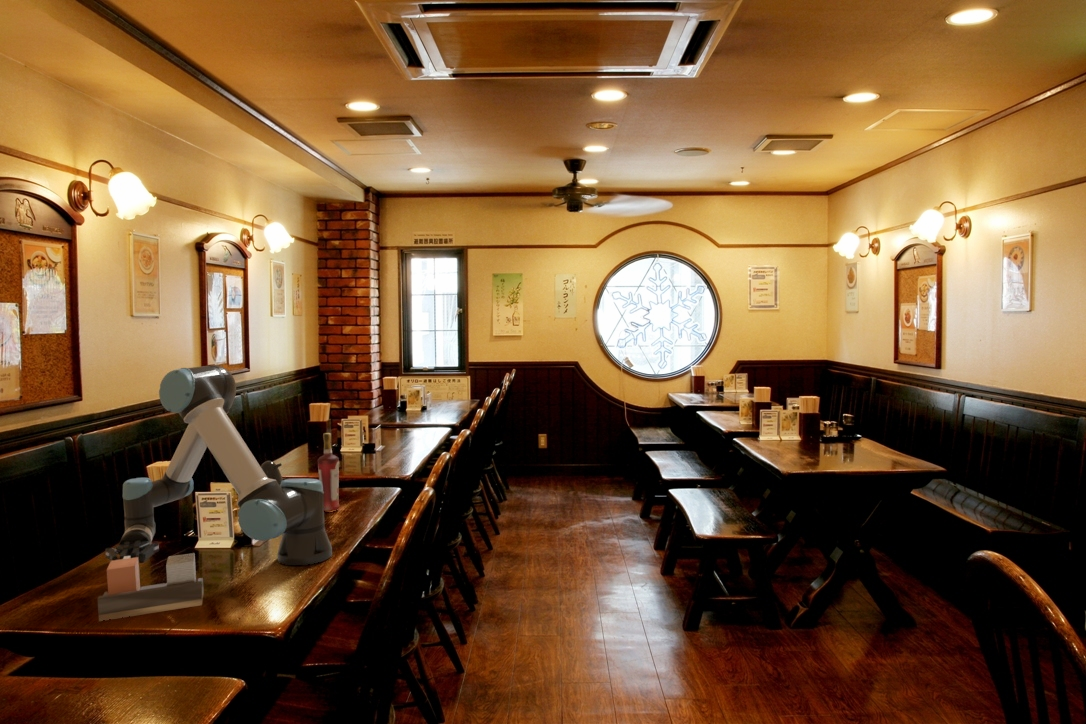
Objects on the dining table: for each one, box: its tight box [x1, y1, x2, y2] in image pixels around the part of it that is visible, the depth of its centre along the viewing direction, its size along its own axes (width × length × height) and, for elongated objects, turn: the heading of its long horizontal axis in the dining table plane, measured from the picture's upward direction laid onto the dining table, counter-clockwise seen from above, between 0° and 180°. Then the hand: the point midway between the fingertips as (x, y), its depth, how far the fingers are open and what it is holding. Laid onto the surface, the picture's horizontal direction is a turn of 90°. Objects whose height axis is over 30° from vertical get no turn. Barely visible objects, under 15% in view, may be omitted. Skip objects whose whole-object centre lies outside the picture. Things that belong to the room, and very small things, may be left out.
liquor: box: [317, 432, 341, 511], centre depth 263 cm, size 7×7×28 cm
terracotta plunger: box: [106, 557, 141, 595], centre depth 182 cm, size 7×6×9 cm
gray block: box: [165, 552, 197, 586], centre depth 184 cm, size 7×6×9 cm
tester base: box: [97, 577, 204, 622], centre depth 182 cm, size 10×22×6 cm, turn 113°
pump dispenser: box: [260, 460, 284, 485], centre depth 280 cm, size 10×10×15 cm
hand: (124, 569), depth 185 cm, fingers closed
